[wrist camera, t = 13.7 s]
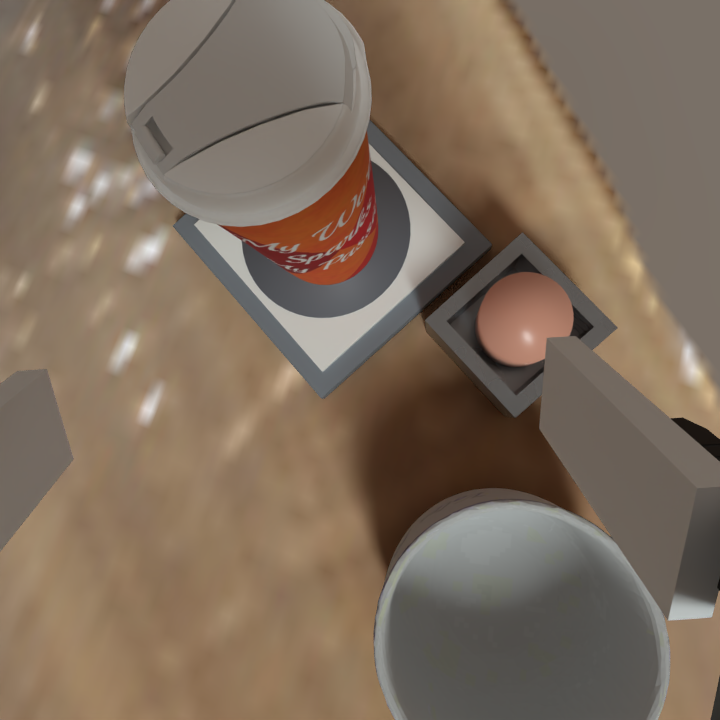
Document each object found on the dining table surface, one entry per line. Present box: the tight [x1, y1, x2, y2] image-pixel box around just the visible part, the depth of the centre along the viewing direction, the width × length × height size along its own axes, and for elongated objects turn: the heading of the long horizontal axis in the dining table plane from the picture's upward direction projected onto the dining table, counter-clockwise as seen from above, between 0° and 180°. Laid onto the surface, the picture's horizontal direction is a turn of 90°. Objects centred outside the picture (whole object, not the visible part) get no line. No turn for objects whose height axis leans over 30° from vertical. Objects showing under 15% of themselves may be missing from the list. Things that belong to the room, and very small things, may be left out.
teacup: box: [374, 488, 670, 720], centre depth 24 cm, size 14×11×8 cm
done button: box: [475, 272, 574, 367], centre depth 25 cm, size 4×4×3 cm
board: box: [173, 120, 492, 399], centre depth 30 cm, size 13×12×1 cm
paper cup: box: [124, 0, 378, 285], centre depth 23 cm, size 8×8×14 cm
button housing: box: [425, 232, 617, 418], centre depth 27 cm, size 6×6×4 cm
